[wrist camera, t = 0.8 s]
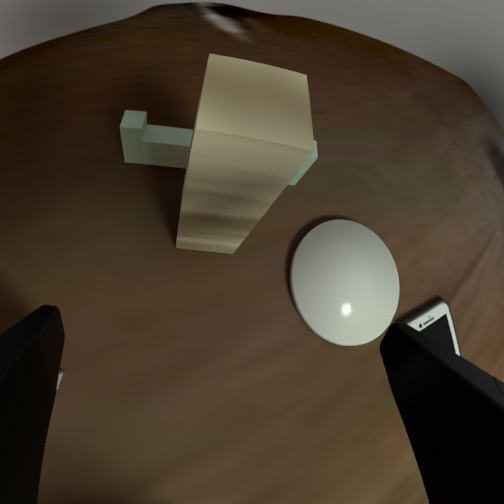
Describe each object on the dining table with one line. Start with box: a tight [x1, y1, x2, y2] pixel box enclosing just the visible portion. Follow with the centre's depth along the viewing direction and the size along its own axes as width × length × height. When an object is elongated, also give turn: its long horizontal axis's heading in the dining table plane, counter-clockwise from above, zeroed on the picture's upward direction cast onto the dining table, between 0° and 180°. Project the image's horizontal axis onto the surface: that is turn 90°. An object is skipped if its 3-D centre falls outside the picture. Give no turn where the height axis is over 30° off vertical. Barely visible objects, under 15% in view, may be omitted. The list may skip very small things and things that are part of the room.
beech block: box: [176, 54, 314, 254], centre depth 16 cm, size 4×4×13 cm
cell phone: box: [402, 300, 462, 357], centre depth 24 cm, size 8×15×1 cm, turn 18°
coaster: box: [289, 219, 399, 346], centre depth 24 cm, size 10×10×1 cm
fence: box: [120, 110, 318, 185], centre depth 22 cm, size 2×14×4 cm, turn 88°
